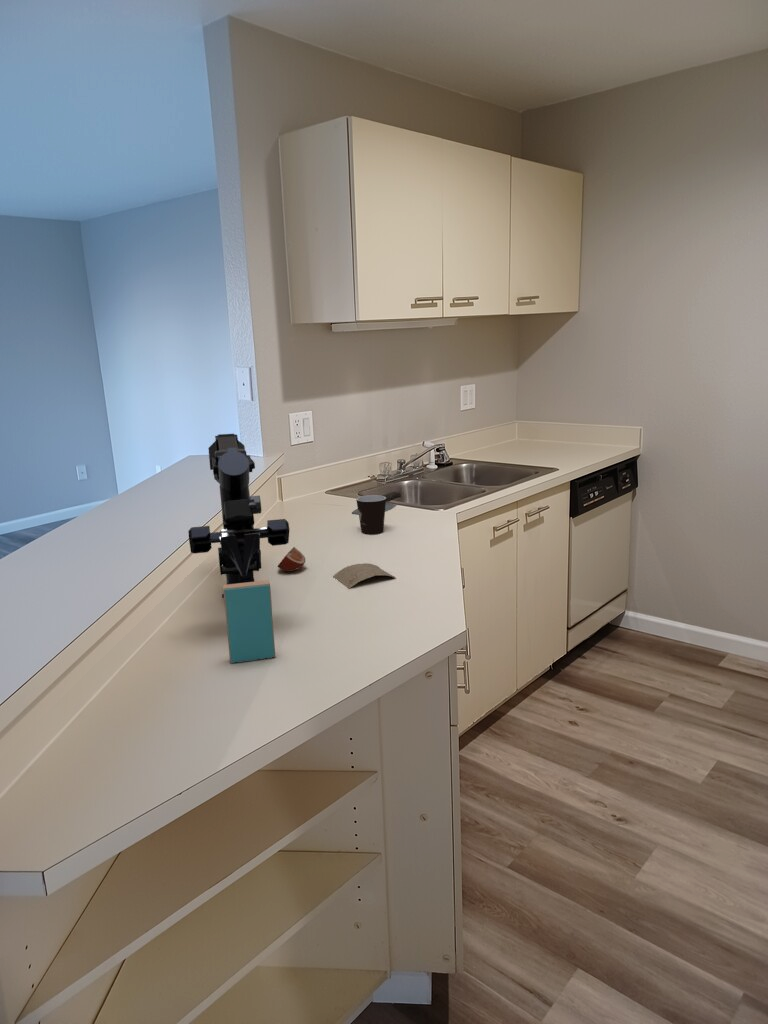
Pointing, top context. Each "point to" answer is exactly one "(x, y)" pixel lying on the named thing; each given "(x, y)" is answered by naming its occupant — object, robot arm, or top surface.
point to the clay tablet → (358, 573)
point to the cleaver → (388, 498)
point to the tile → (249, 621)
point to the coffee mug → (371, 513)
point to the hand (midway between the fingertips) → (244, 575)
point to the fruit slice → (292, 560)
